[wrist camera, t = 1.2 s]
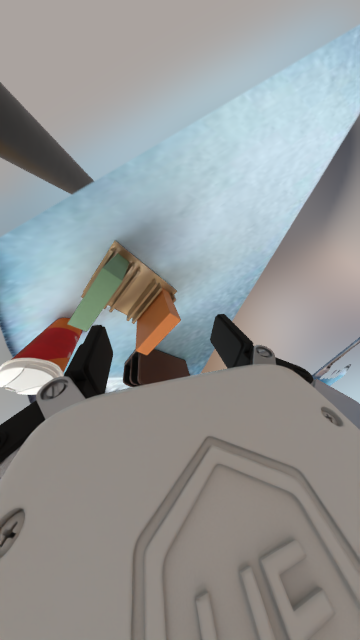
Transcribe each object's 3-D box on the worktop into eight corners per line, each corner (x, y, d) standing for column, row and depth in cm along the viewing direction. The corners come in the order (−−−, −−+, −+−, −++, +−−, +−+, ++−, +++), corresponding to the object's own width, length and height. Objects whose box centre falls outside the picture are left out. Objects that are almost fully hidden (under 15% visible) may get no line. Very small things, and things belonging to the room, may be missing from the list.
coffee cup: (67, 344, 36) (29, 401, 24) (38, 322, 31) (-28, 380, 19) (95, 332, 36) (72, 383, 24) (71, 308, 31) (26, 357, 19)
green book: (93, 290, 29) (67, 324, 19) (117, 253, 27) (102, 267, 16) (105, 297, 31) (86, 331, 20) (129, 262, 28) (122, 280, 17)
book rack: (84, 290, 30) (75, 299, 26) (115, 240, 26) (110, 242, 22) (146, 323, 38) (147, 334, 34) (176, 289, 35) (180, 297, 31)
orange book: (137, 315, 35) (135, 351, 25) (160, 286, 32) (170, 312, 22) (145, 319, 36) (147, 355, 26) (168, 292, 34) (181, 320, 23)
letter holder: (139, 343, 42) (139, 385, 30) (185, 360, 52) (198, 396, 40) (124, 362, 45) (118, 407, 33) (170, 375, 55) (178, 413, 43)
